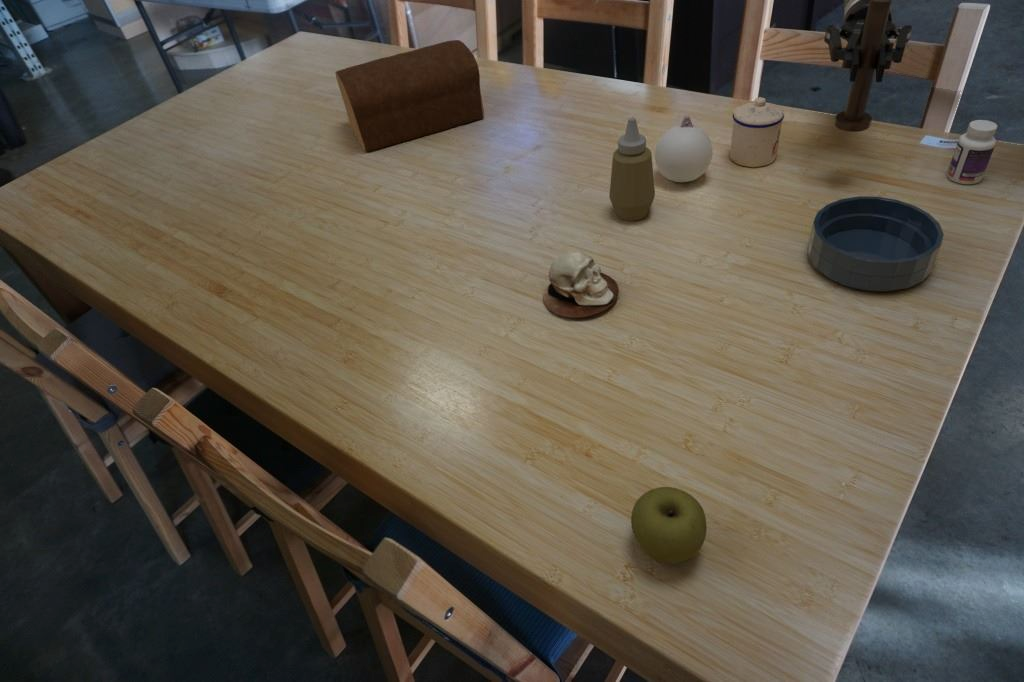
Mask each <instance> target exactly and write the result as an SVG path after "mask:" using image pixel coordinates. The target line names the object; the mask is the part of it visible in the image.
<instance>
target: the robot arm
mask: <svg viewBox="0 0 1024 682" xmlns="http://www.w3.org/2000/svg"><path fill="white" fill-rule="evenodd" d="M869 3H870V0H843V5H844V11H843V22H842V24H841V26H840V27H839V26H837V27H836V26H835V25H833V24H829V25H826V28H825V34H824V40H823V41H824V43H825V44H827V45H828V51H829V56H830V61H831V62H832V63H836V62H839V61H840V60H841V61H842V65H841V68H842V69H848V70H849V82H851V83H852V82H855V79H856V75H857V70H858V66H859V48H860V43H861V39H862V34H863V30H864V25H865V21H866V16H867V12H868V7H869ZM912 30H913V25H911V24H906V25H904V26H899V27H897V25H896V24H895V23H893V17H892V6H891V7H890V11H889V16H888V20H887V24H886V28H885V32H884V36H883V40H882V44H881V48H880V52H879V56H878V61H877V65H876V69H875V83H883V77H884V74H885V70H890V69H891V66H892V63H895V64H900V63H901V62H902V60H903V56H904V52H905V49H906V44H908V43H909V41H910V37H911V33H912ZM892 38H893V39H895V41H893V42H891V41H890V39H892ZM842 40H845V42H846V46H845V47H843V43H842ZM894 44H895V45H894ZM894 46H895V48H894Z"/></svg>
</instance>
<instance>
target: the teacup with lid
mask: <svg viewBox="0 0 1024 682" xmlns="http://www.w3.org/2000/svg"><path fill="white" fill-rule="evenodd" d="M784 118H785V113H784V110H783V109H782V107H780V106H778V105H777V104H774V103H772V102H767V100H766V98H765V97H760V96H759V97H756V98H755V99H754V101H752V102H747V103H743V104H741V105H740V106H738V107H736V108H735V110H734V112H733V113H732V120H733V123H732V133H731V141H730V151H729V157H730V160H732V162H734V163H735V164H737V165H739V166H743V167H747V168H759V167H764V166H767V165H770V164H771V163H773V162H774V161H775V160H776V159H777V157H778V155H777V154H778V151H779V150H778V149H779V144H780V136H781V130H782V124H783V120H784Z"/></svg>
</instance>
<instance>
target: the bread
mask: <svg viewBox="0 0 1024 682" xmlns="http://www.w3.org/2000/svg"><path fill="white" fill-rule="evenodd" d="M335 79H336V82H337V85H338V88H339V91H340V95H341V98H342V101H343V104H344V108H345V111H346V115H347V118H348V121H349V125H350V127H351V129H352V131H353V133H354V135H355V137H356V139H357V141H358V143H359V144H360V146H361V149H363V150H364V151H365V153H368V152H371V151H376V150H380V149H383V148H386V147H389V146H392V145H393V146H394V145H396V144H400V143H403V142H407V141H411V140H415V139H417V138H420V137H424V136H427V135H431V134H435V133H438V132H442V131H445V130H448V129H451V128H452V129H453V128H454V127H457V126H461V125H464V124H468V123H471V122H474V121H477V120H480V119H483V118H484V115H485V110H484V104H483V99H482V93H481V73H480V69H479V65H478V62H477V60H476V58H475V55H474V54H473V53H472V51H471V50H470V48H469V47H468V46H467V45H466V44H465V43H464V42H463V41H461V39H460V40H459V39H454V40H453V39H452V40H447V41H442V42H439V43H435V44H433V45H431V44H430V45H428V46H424V47H420V48H417V49H412V50H410V51H406V52H399V53H396V54H393V55H389V56H387V57H386V56H385V57H379V58H377V59H374V60H370V61H367V62H364V63H359V64H356V65H352V66H349V67H345V68H343V69H339V70H336V71H335Z"/></svg>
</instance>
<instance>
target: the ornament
mask: <svg viewBox="0 0 1024 682" xmlns="http://www.w3.org/2000/svg"><path fill="white" fill-rule="evenodd" d="M712 158H713V145H712V141H711V139H710V137H709V135H708V133H707V132H705V130H704V129H702V128H700V127H699V126H697V125H693V122H692V120H691V117H690V115H684V117H683V118H682V121H681V123H680V124H677V125H674V126H672V127H670V128H668V129H667V130H665V131H664V132H663V133H662V134H661V135H660V137H659V138H658V140H657V142H656V145H655V148H654V161H655V164H656V165H655V166H656V167H657V169H658V171H659V172H660V174H661V176H663V177H665V179H667V180H670V181H672V182H676V183H688V182H692V181H694V180H696V179H698V178H699V177H702V175H703V174H704V173H705V172H706V171H707V170H708V168H709V167H710V164H711V162H712Z"/></svg>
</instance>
